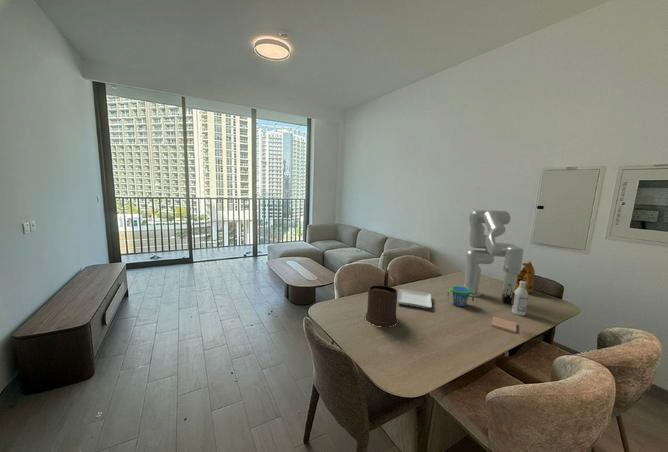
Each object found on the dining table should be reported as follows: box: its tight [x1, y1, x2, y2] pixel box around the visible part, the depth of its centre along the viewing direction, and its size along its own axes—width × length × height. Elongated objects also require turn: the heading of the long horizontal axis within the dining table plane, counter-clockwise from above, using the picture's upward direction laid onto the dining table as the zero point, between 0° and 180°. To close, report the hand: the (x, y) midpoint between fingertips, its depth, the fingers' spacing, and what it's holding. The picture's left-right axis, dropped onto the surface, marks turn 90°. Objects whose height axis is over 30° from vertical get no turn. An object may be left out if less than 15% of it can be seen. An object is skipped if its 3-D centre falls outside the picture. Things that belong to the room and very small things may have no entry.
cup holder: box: [364, 269, 398, 328], centre depth 146 cm, size 18×24×25 cm
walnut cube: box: [500, 290, 515, 307], centre depth 139 cm, size 6×6×6 cm
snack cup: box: [446, 285, 475, 308], centre depth 166 cm, size 16×10×10 cm
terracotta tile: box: [491, 316, 517, 334], centre depth 142 cm, size 11×11×1 cm
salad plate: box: [397, 288, 433, 309], centre depth 169 cm, size 21×21×3 cm
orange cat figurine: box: [514, 261, 536, 294], centre depth 190 cm, size 10×12×22 cm
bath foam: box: [511, 281, 529, 316], centre depth 156 cm, size 7×7×20 cm
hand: (507, 301), depth 140 cm, fingers closed on walnut cube, 5 cm apart
